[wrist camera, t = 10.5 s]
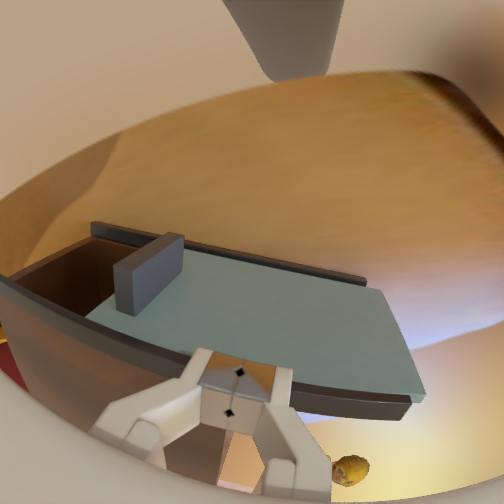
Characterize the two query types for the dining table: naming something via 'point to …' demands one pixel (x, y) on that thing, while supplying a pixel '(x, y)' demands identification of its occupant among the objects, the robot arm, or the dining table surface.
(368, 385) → the grey sliding lid
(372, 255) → the dining table surface
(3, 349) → the decorative basket
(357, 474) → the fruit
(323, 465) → the robot arm
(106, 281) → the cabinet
